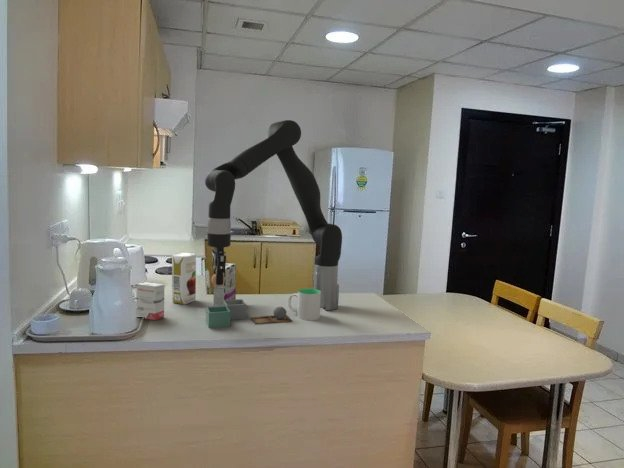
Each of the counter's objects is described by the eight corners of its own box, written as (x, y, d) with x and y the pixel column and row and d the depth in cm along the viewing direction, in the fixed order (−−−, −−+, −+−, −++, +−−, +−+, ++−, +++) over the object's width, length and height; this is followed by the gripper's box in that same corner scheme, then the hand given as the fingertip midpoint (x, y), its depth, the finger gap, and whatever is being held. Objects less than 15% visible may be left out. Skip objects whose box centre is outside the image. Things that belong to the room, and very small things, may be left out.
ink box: (165, 316, 168) (165, 283, 167) (156, 320, 164) (156, 286, 162) (144, 313, 171) (144, 281, 170) (135, 317, 166) (135, 284, 165)
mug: (283, 319, 170) (284, 291, 169) (291, 313, 178) (292, 286, 177) (315, 324, 167) (316, 295, 165) (322, 317, 174) (323, 290, 173)
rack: (286, 318, 172) (286, 314, 171) (292, 324, 165) (292, 320, 165) (250, 321, 167) (250, 316, 167) (255, 327, 161) (255, 322, 160)
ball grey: (284, 317, 170) (284, 304, 169) (287, 320, 166) (288, 308, 165) (271, 317, 168) (272, 305, 168) (275, 321, 164) (275, 309, 164)
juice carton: (169, 302, 186) (169, 254, 184) (182, 297, 194) (183, 251, 192) (185, 305, 183) (185, 256, 181) (198, 300, 191) (198, 253, 189)
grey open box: (242, 315, 174) (242, 299, 173) (246, 320, 167) (246, 304, 166) (222, 316, 171) (223, 300, 170) (226, 322, 165) (226, 305, 164)
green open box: (226, 322, 164) (226, 305, 163) (230, 329, 158) (230, 311, 157) (205, 324, 162) (205, 307, 161) (208, 330, 155) (208, 312, 155)
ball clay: (223, 284, 161) (224, 271, 160) (226, 287, 157) (226, 274, 156) (210, 285, 159) (210, 272, 159) (212, 288, 155) (212, 274, 155)
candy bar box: (223, 303, 188) (224, 262, 186) (235, 304, 187) (236, 263, 185) (212, 311, 177) (212, 267, 175) (225, 312, 176) (225, 268, 174)
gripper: (234, 234, 150) (233, 287, 153) (226, 229, 164) (225, 277, 166) (210, 234, 148) (209, 288, 150) (204, 229, 161) (204, 278, 163)
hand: (218, 282), depth 158 cm, fingers closed on ball clay, 4 cm apart
